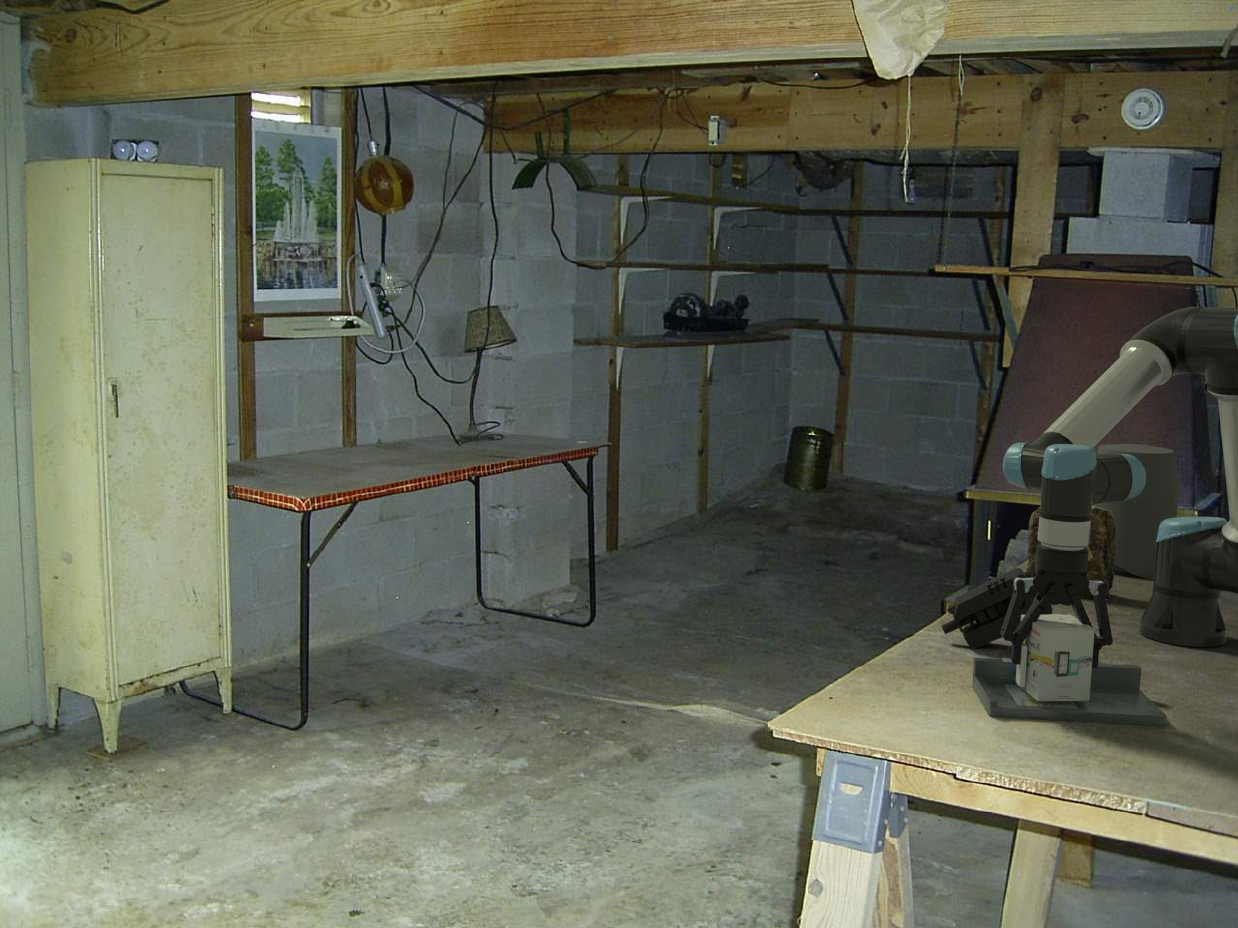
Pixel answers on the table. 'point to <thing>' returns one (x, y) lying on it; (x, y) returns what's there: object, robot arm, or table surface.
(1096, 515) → the stone block
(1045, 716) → the tray
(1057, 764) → the table surface
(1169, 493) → the grey tapered cylinder
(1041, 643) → the ink box
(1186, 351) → the robot arm
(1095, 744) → the table surface
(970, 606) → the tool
